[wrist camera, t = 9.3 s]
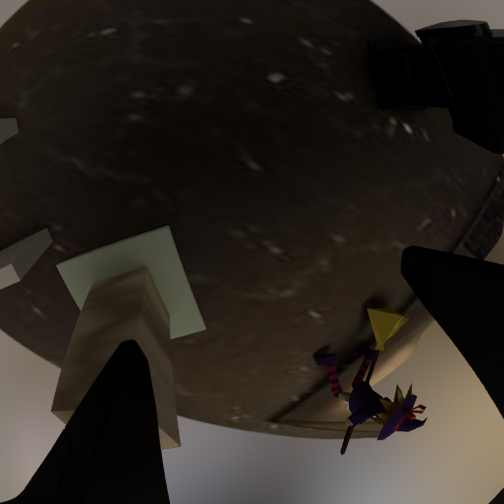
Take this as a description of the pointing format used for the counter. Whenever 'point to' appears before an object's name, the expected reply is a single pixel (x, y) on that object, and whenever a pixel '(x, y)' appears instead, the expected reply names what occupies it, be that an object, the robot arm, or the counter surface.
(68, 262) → the green mat
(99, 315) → the beech post
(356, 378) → the toy
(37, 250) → the channel
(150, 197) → the counter surface
